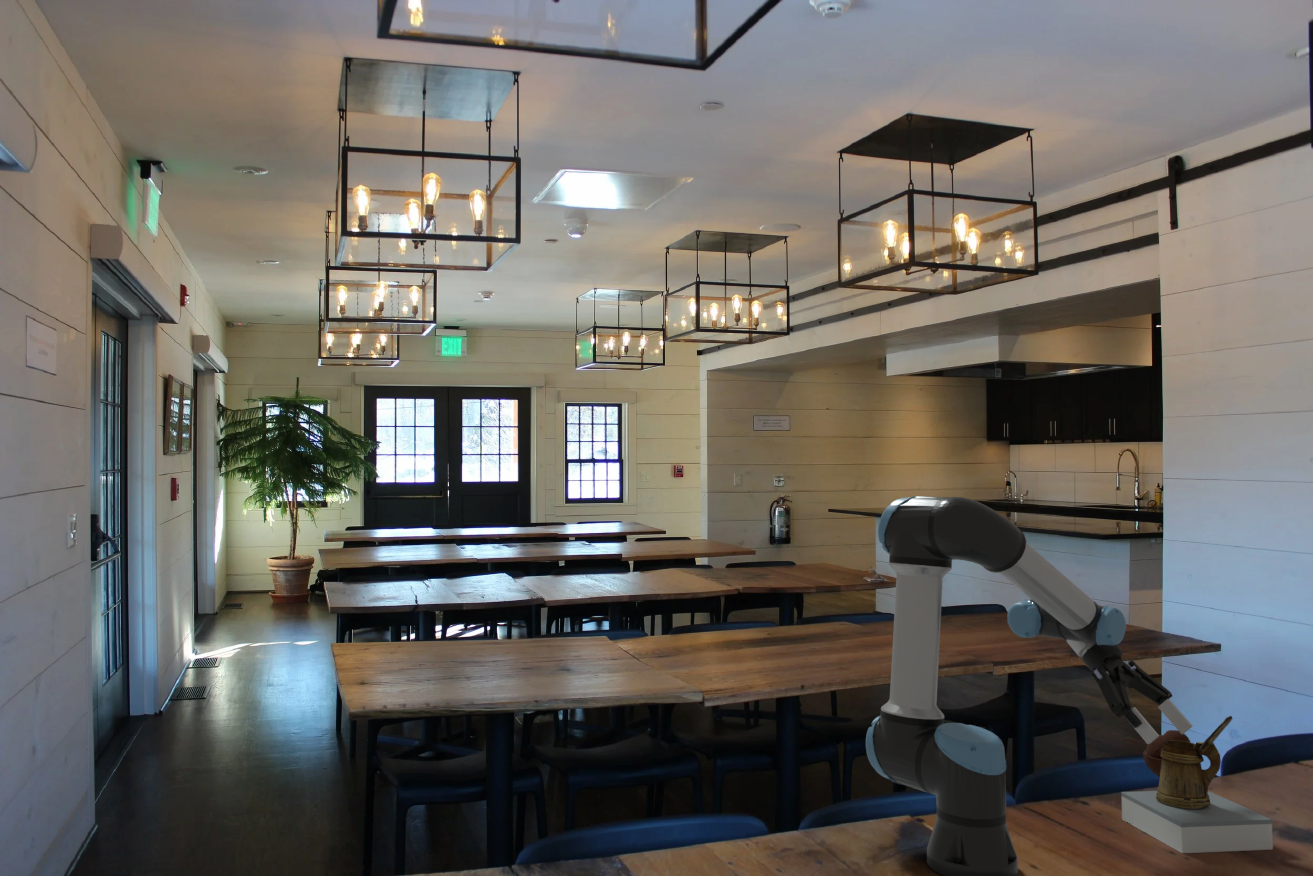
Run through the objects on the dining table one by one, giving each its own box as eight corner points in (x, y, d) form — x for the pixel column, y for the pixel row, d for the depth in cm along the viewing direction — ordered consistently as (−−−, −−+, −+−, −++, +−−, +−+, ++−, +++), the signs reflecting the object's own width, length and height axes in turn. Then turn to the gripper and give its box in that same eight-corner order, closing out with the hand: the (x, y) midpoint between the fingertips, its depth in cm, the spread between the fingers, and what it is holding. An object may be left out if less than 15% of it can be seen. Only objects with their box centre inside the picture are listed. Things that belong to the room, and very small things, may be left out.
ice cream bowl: (1202, 797, 203) (1200, 727, 204) (1200, 812, 193) (1197, 738, 194) (1147, 789, 208) (1145, 720, 209) (1142, 803, 199) (1140, 731, 200)
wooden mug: (1230, 819, 174) (1227, 720, 175) (1150, 802, 183) (1147, 708, 184) (1241, 807, 180) (1237, 712, 181) (1163, 792, 189) (1160, 701, 190)
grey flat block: (1182, 853, 171) (1181, 823, 171) (1122, 819, 189) (1121, 792, 189) (1272, 849, 173) (1271, 819, 173) (1205, 816, 191) (1204, 789, 191)
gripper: (1074, 641, 189) (1152, 733, 176) (1137, 631, 203) (1214, 715, 190) (1050, 664, 193) (1125, 755, 180) (1114, 653, 207) (1187, 736, 194)
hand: (1171, 735), depth 185 cm, fingers open, 13 cm apart
